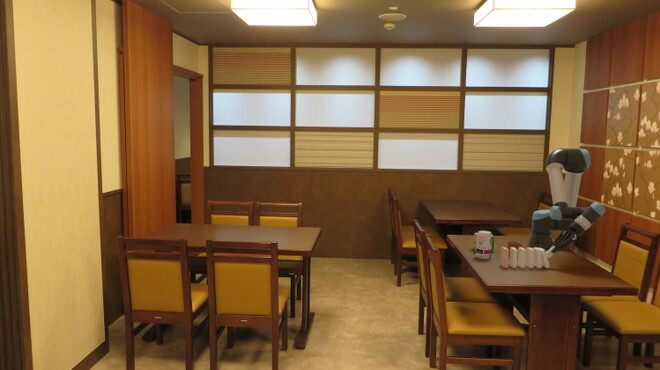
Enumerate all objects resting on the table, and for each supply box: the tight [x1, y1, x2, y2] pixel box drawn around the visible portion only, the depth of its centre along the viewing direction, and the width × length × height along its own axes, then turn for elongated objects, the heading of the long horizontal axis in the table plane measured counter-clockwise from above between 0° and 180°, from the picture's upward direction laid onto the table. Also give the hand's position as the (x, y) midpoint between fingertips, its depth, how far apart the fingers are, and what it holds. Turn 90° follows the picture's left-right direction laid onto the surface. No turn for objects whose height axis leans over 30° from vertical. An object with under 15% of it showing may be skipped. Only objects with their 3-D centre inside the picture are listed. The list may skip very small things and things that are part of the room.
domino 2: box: [508, 247, 518, 269], centre depth 260 cm, size 2×5×10 cm, turn 2°
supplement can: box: [475, 230, 493, 260], centre depth 277 cm, size 8×8×15 cm
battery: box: [507, 240, 523, 260], centre depth 278 cm, size 4×7×10 cm, turn 89°
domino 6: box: [539, 248, 551, 269], centre depth 260 cm, size 2×5×10 cm, turn 2°
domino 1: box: [500, 246, 509, 269], centre depth 259 cm, size 2×5×10 cm, turn 2°
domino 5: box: [532, 247, 543, 269], centre depth 260 cm, size 2×5×10 cm, turn 2°
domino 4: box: [525, 247, 535, 269], centre depth 260 cm, size 2×5×10 cm, turn 2°
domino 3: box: [517, 246, 527, 269], centre depth 260 cm, size 2×5×10 cm, turn 2°
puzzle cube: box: [472, 232, 495, 254], centre depth 294 cm, size 10×10×10 cm
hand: (546, 255), depth 260 cm, fingers closed
